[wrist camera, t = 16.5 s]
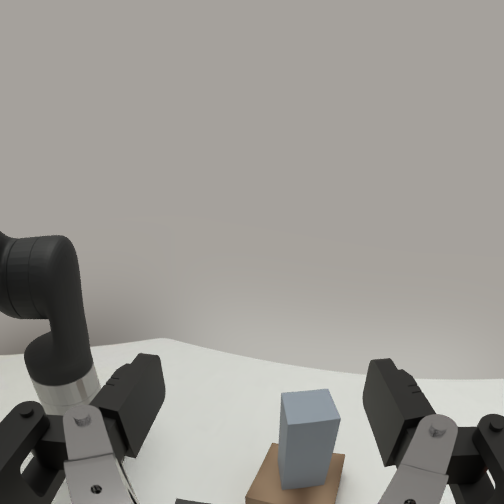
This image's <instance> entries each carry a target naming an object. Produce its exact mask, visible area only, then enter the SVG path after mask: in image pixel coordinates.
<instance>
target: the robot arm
mask: <svg viewBox="0 0 504 504" xmlns="http://www.w3.org/2000/svg"><path fill="white" fill-rule="evenodd" d="M0 311H1V312H2V313H4V314H6V315H8V316H10V317H13V318H18V319H49V321H50V327H51V331H50V332H48V333H46V334H44V335H42V336H40V337H38V338H36V339H35V340H33V341H32V342H31V343H30V344H29V345H28V347H27V348H26V350H25V353H24V360H25V364H26V367H27V370H28V373H29V375H30V378H31V380H32V383H33V385H34V388H35V390H36V393H37V395H38V397H39V400H40V402H41V404H42V405H41V404H40V403H38V402H35V401H26V402H22V403H20V404H18V405H17V406H15V407H14V408H13V409H12V411H11V412H10V413H9V414H8V415H7V416H6V417H5V418H4V419H3V420H2V421H1V423H0V504H51V502H52V501H53V499H54V497H55V495H56V493H57V491H58V490H59V488H60V486H61V484H62V482H63V481H64V479H65V477H66V479H67V484H68V489H69V493H70V497H71V501H72V504H140V503H139V501H138V499H137V497H136V495H135V493H134V490H133V488H132V486H131V483H130V481H129V479H128V476H127V474H126V471H125V469H124V466H123V464H122V462H123V459H124V456H128V457H132V458H136V457H137V455H138V453H139V450H140V448H141V446H142V444H143V442H144V440H145V438H146V436H147V434H148V432H149V430H150V428H151V426H152V424H153V422H154V420H155V418H156V416H157V414H158V412H159V410H160V408H161V406H162V404H163V402H164V399H165V383H164V378H163V372H162V367H161V361H160V358H159V356H158V355H151V354H143V353H139V354H138V355H137V356H136V358H135V359H134V360H133V362H132V363H131V364H125V365H123V366H122V367H120V368H118V369H117V370H116V371H115V372H114V374H113V375H112V376H111V379H109V380H108V381H107V382H106V385H104V386H103V387H102V389H101V386H100V383H99V380H98V377H97V373H96V370H95V366H94V362H93V358H92V355H91V351H90V344H89V336H88V330H87V324H86V319H85V314H84V307H83V299H82V290H81V280H80V271H79V265H78V259H77V255H76V251H75V248H74V246H73V244H72V243H71V241H70V240H69V239H68V238H67V237H65V236H60V235H58V236H57V235H54V236H42V237H30V238H20V239H16V238H11V237H8V236H6V235H5V234H3V233H2V232H1V231H0ZM363 406H364V409H365V412H366V414H367V417H368V420H369V423H370V426H371V428H372V431H373V434H374V437H375V440H376V443H377V446H378V449H379V452H380V455H381V458H382V461H383V464H384V467H387V466H392V465H396V468H397V471H396V473H395V475H394V477H393V478H392V480H391V482H390V484H389V486H388V487H387V489H386V491H385V492H384V494H383V496H382V497H381V499H380V501H379V502H378V504H439V503H440V501H441V498H442V495H443V493H444V490H445V487H446V484H449V486H450V489H451V491H452V494H453V497H454V499H455V502H456V504H504V417H503V416H501V415H498V414H489V415H486V416H484V417H482V418H481V420H480V421H479V423H478V425H477V427H457V425H456V423H455V422H454V421H453V420H452V419H451V418H449V417H447V416H444V415H439V414H436V413H435V411H434V410H433V408H432V406H431V405H430V403H429V402H428V400H427V398H426V397H425V395H424V394H423V392H421V389H420V388H419V386H417V383H416V381H415V380H414V378H413V377H412V376H411V375H409V374H408V373H407V372H405V371H404V370H403V369H401V370H398V369H397V368H396V366H395V364H394V363H393V361H392V360H391V359H390V358H388V359H375V360H371V361H370V364H369V368H368V373H367V377H366V382H365V386H364V391H363ZM30 451H31V452H32V454H33V456H34V457H33V458H32V460H31V461H30V462H29V464H28V465H27V467H26V468H25V470H24V471H23V473H22V474H21V473H20V467H21V464H22V463H23V461H24V460H25V458H26V457H27V456H28V454H29V453H30ZM487 470H489V472H490V474H491V476H492V478H493V480H494V482H495V489H494V487H493V485H492V483H491V480H490V478H489V476H488V474H487V472H486V471H487ZM175 504H209V503H202V502H195V501H188V500H182V499H176V502H175Z"/></svg>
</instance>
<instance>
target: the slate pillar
mask: <svg viewBox="0 0 504 504" xmlns="http://www.w3.org/2000/svg"><path fill="white" fill-rule="evenodd" d="M340 419H341V418H340V415H339V413H338V411H337V408H336V406H335V404H334V401H333V399H332V397H331V394H330V392H329V390H328V389H320V390H310V391H300V392H287V393H281V412H280V430H279V446H278V468H279V474H280V481H281V488H282V490H287V489H296V488H305V487H312V486H319V485H324V483H325V480H326V476H327V472H328V469H329V465H330V461H331V458H332V454H333V450H334V446H335V441H336V437H337V433H338V429H339V424H340Z"/></svg>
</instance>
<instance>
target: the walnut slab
mask: <svg viewBox="0 0 504 504" xmlns="http://www.w3.org/2000/svg"><path fill="white" fill-rule="evenodd" d="M278 446H279V444H276V443H272V444H271V447H270V449H269V451H268V453H267V455H266V457H265V459H264V461H263V463H262V465H261V467H260V469H259V471H258V473H257V475H256V477H255V479H254V481H253V483H252V485H251V487H250V489H249V491H248V493H247V494H246V496H245V500H246V504H335V500H336V496H337V491H338V487H339V483H340V478H341V473H342V468H343V463H344V458H345V454H337V453H333V454H332V458H331V461H330V465H329V469H328V472H327V476H326V480H325V483H324V485H319V486H312V487H305V488H296V489H287V490H282V488H281V481H280V474H279V468H278Z"/></svg>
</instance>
